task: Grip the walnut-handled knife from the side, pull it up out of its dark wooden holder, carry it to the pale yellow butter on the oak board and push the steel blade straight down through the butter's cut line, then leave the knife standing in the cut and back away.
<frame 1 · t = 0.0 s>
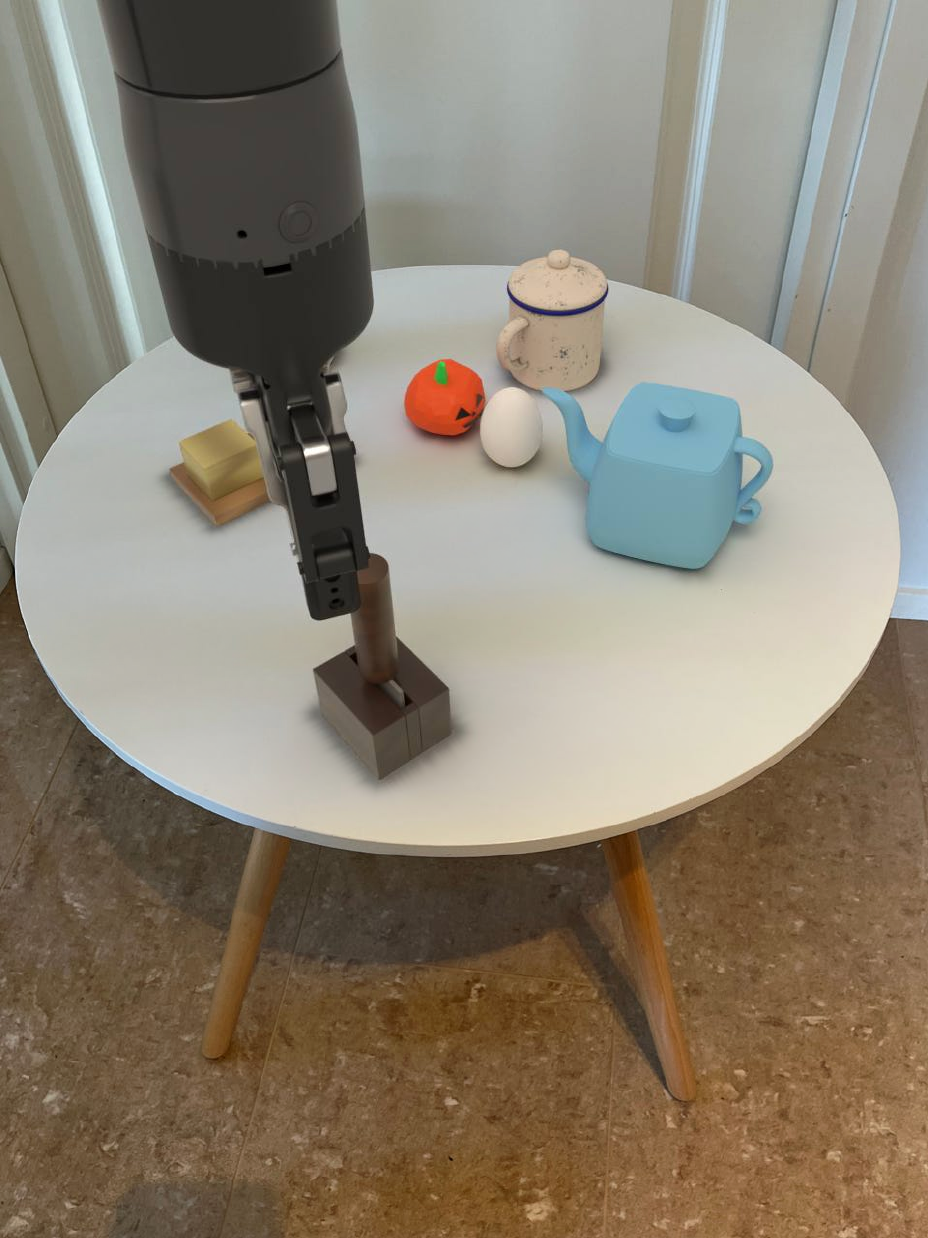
hand: (313, 546, 48), 25 cm above the table, tool pointing down, fingers open, 8 cm apart
egg: (511, 463, 91), on the table
teacup with lid: (543, 375, 100), on the table
butter: (261, 471, 91), on the table
knife holder: (386, 725, 72), on the table
pumpkin: (445, 423, 96), on the table
teapot: (642, 521, 86), on the table
cup: (289, 367, 102), on the table
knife: (377, 653, 67), in the knife holder
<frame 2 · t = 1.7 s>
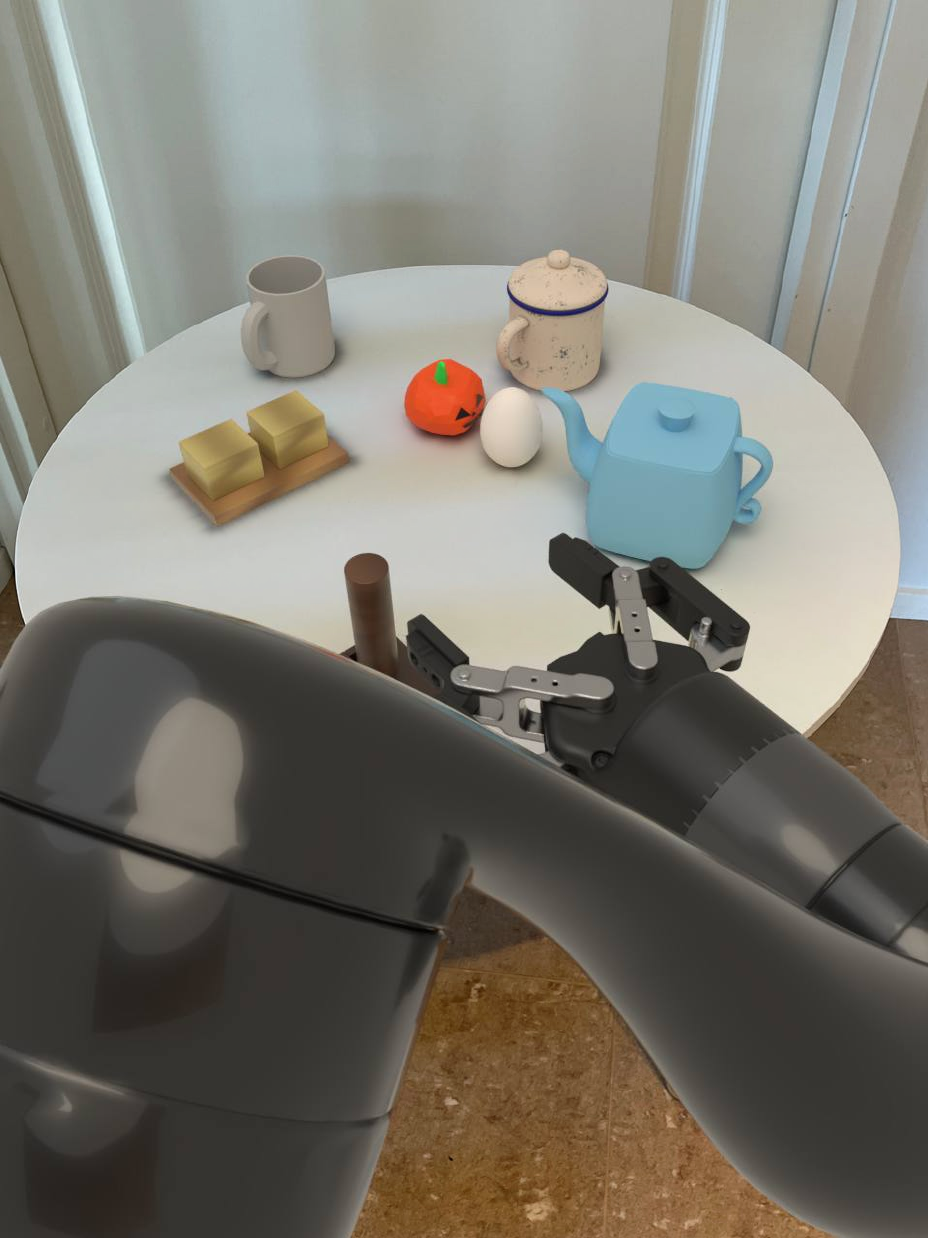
hand: (486, 588, 50), 22 cm above the table, tool horizontal, fingers open, 8 cm apart
nothing on the table moved.
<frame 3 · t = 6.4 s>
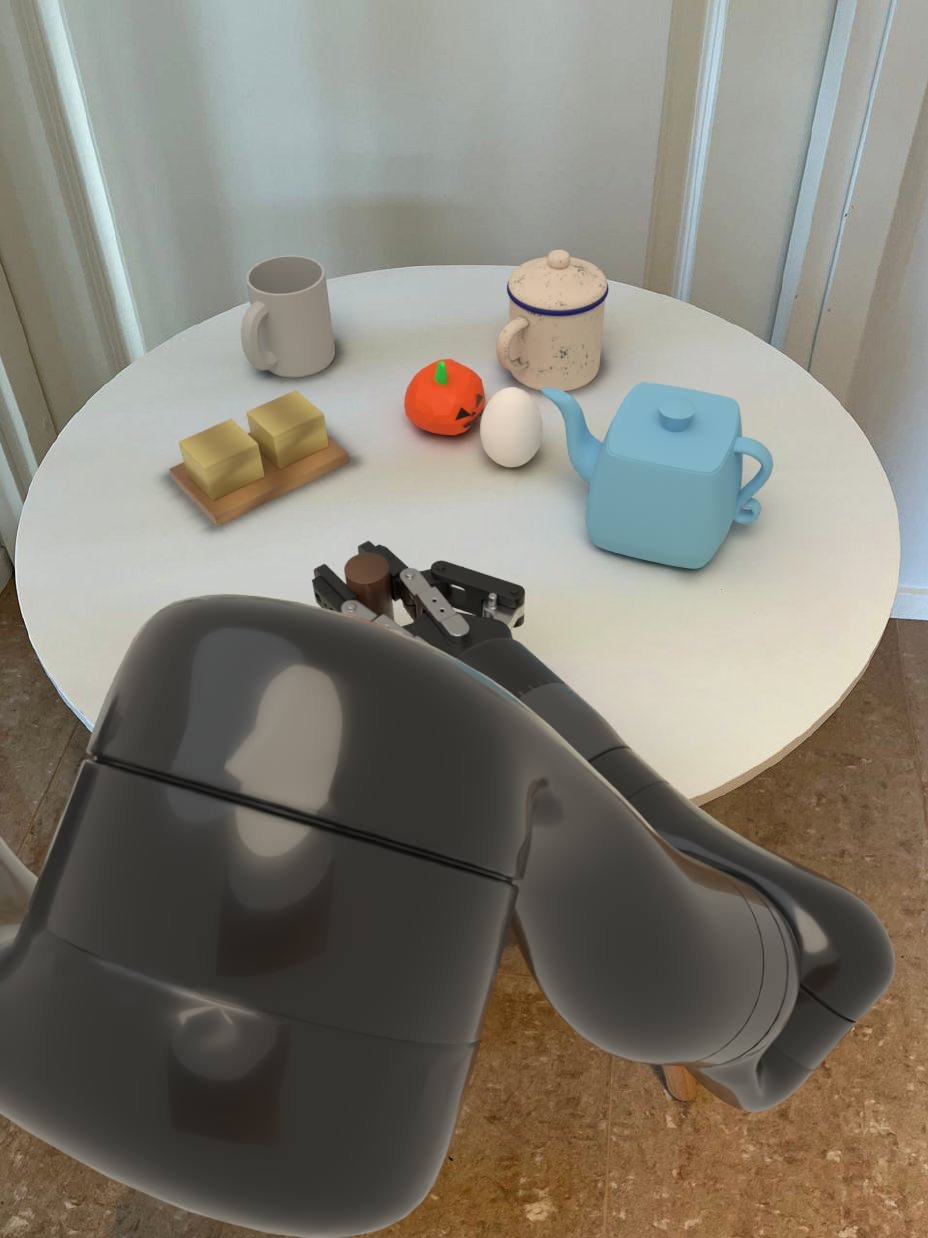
hand: (342, 565, 64), 13 cm above the table, tool horizontal, fingers closed on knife, 2 cm apart
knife: (377, 652, 67), in the knife holder, touching gripper
everything else where it was.
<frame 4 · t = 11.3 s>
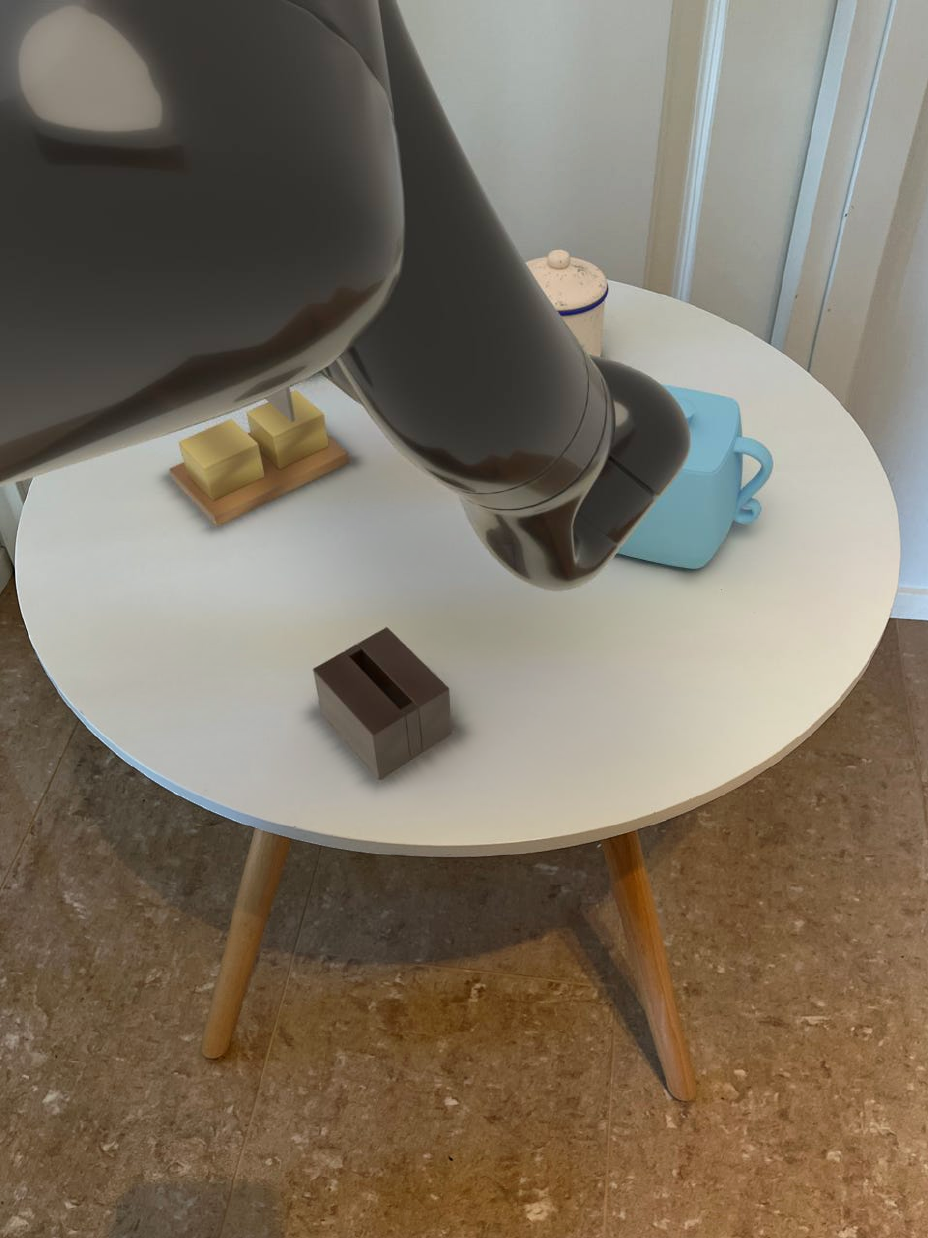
hand: (218, 212, 66), 27 cm above the table, tool horizontal, fingers closed on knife, 2 cm apart
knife: (257, 309, 69), point 21 cm above the table, touching gripper
everything else where it was.
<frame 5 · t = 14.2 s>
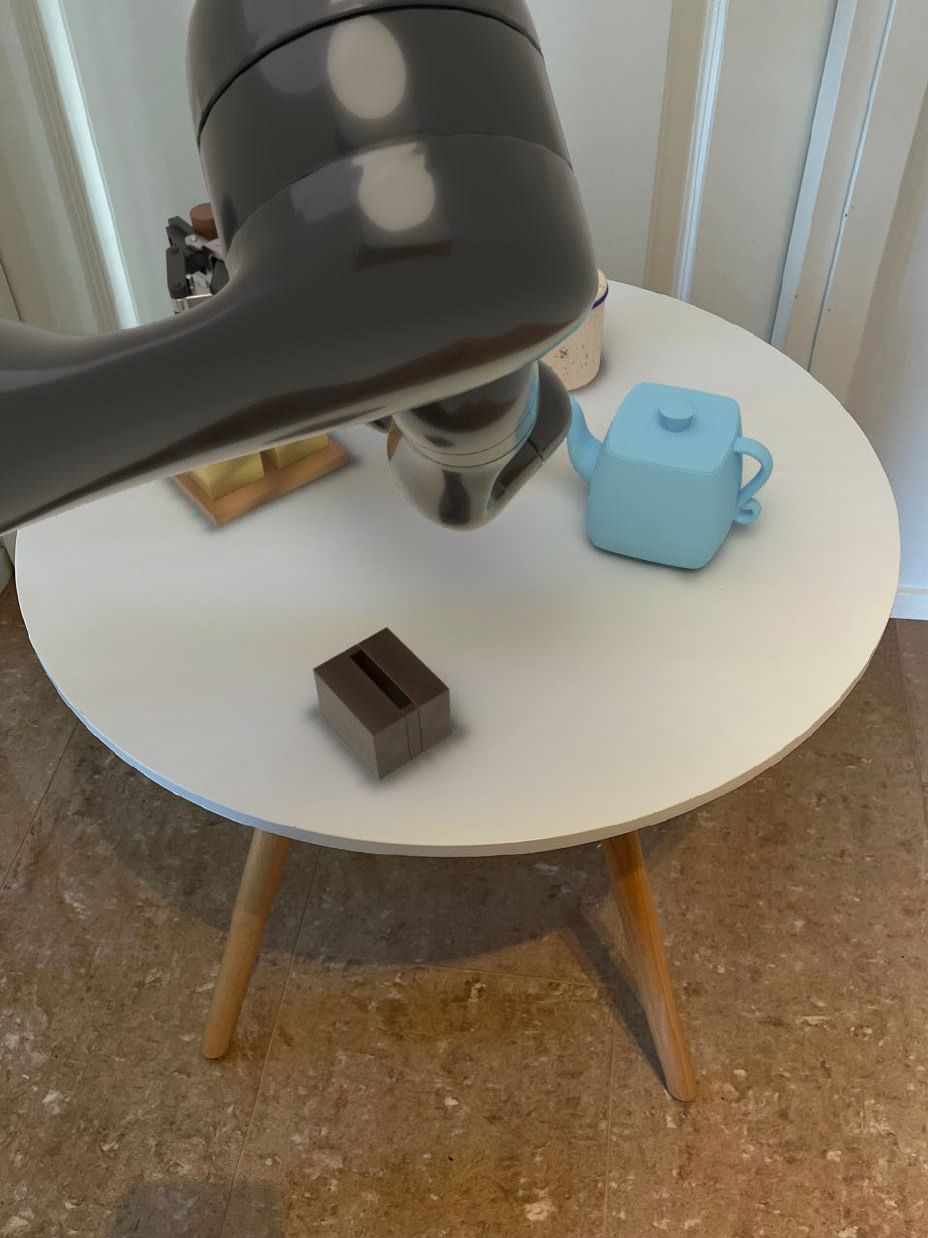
hand: (194, 223, 77), 21 cm above the table, tool horizontal, fingers closed on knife, 2 cm apart
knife: (228, 306, 80), point 16 cm above the table, touching gripper
everything else where it was.
when the fingers open (14 cm above the table, at t = 16.3 s): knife stays where it is, resting on butter.
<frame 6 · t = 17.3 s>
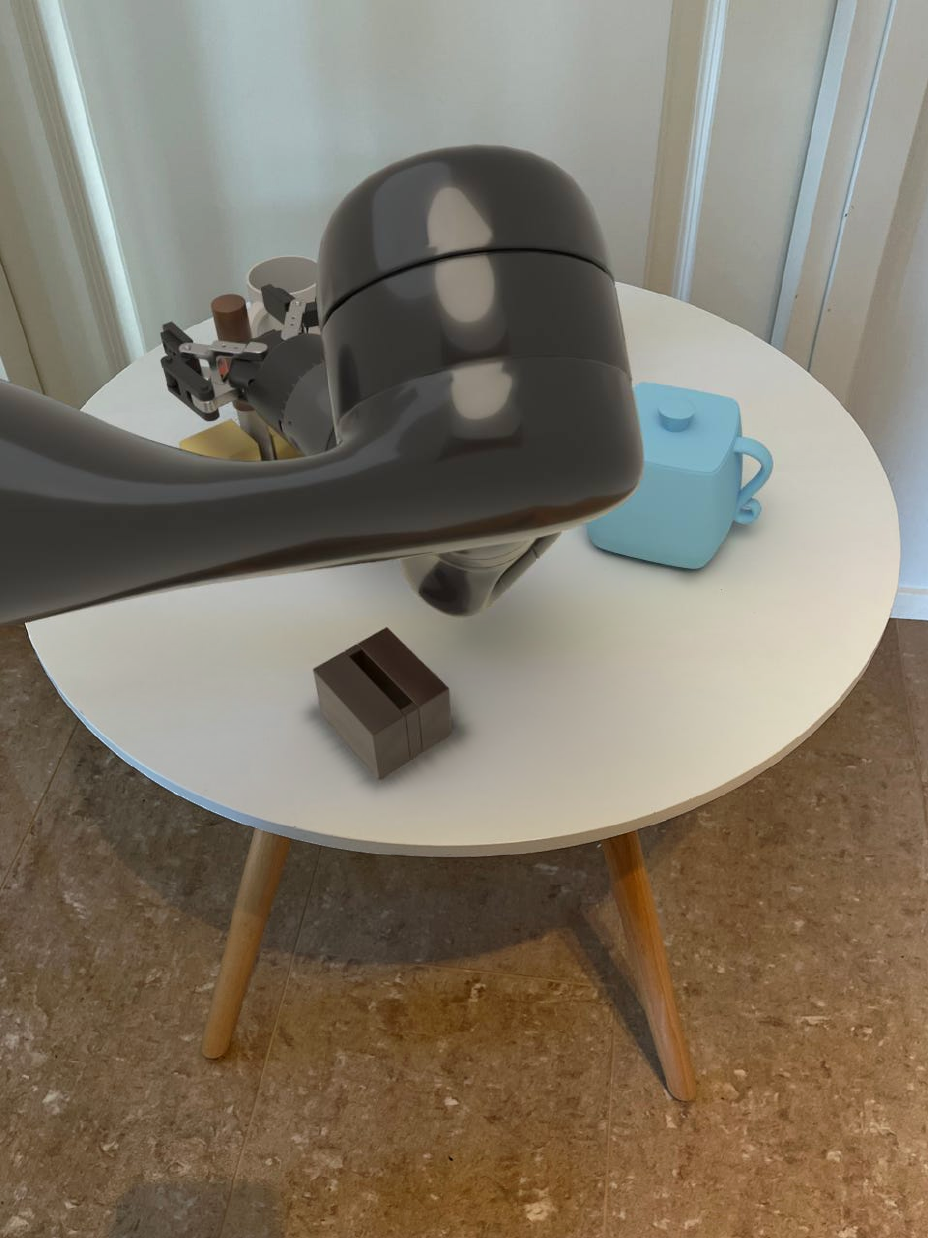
hand: (218, 314, 82), 14 cm above the table, tool horizontal, fingers open, 8 cm apart
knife: (245, 386, 85), point 9 cm above the table, touching butter
everything else where it was.
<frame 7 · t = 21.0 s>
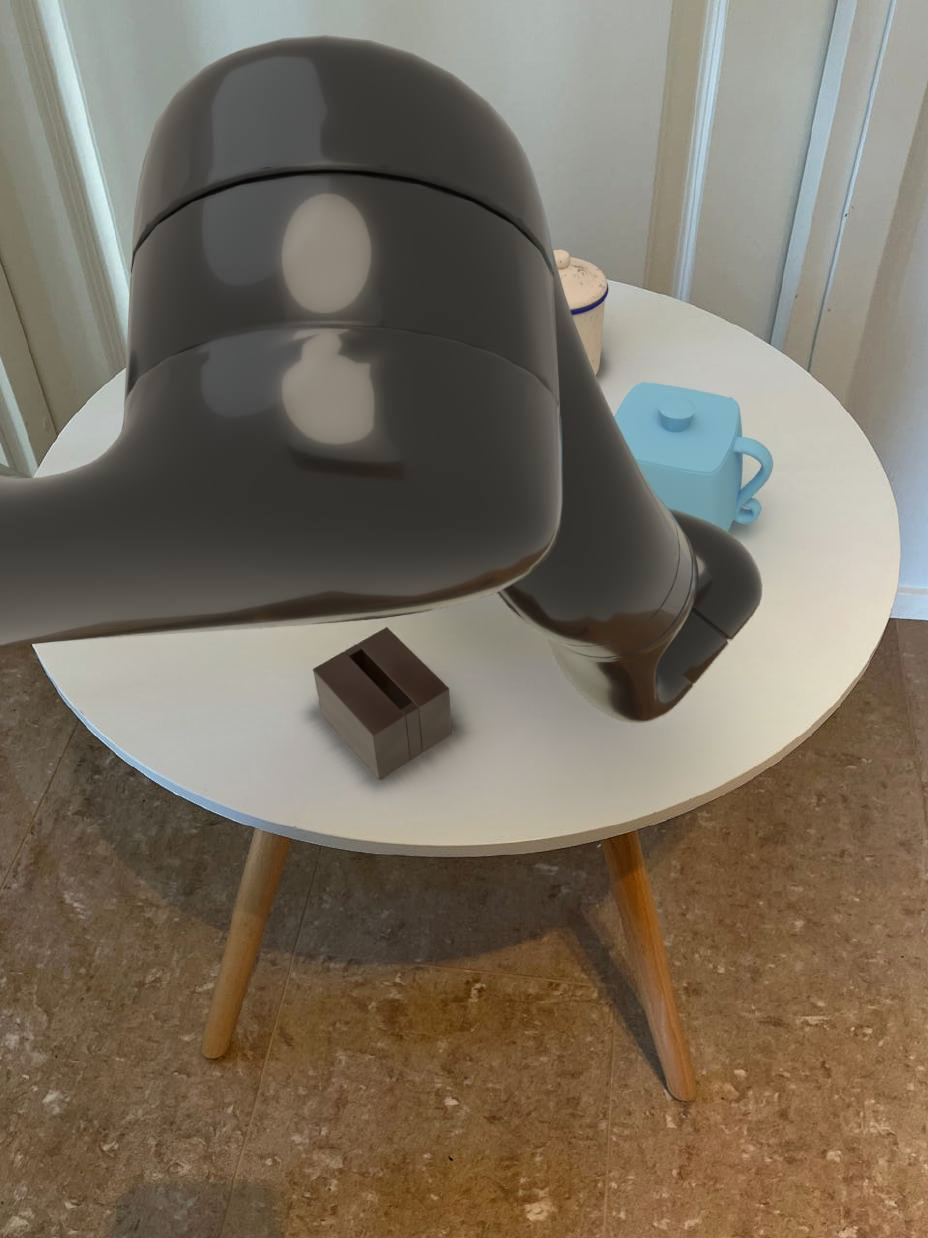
hand: (299, 336, 69), 20 cm above the table, tool horizontal, fingers open, 8 cm apart
nothing on the table moved.
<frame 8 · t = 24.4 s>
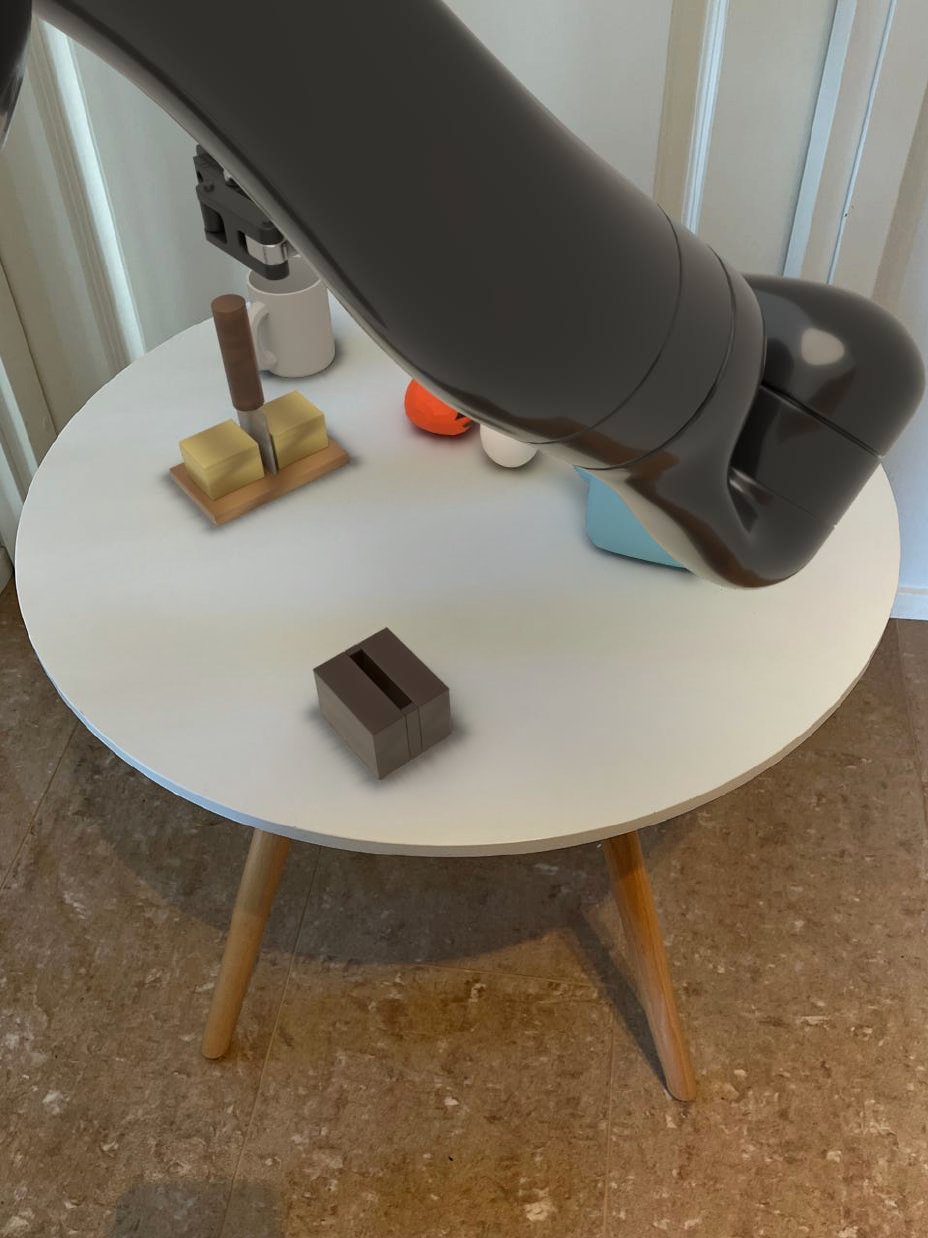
hand: (278, 138, 54), 35 cm above the table, tool horizontal, fingers open, 8 cm apart
nothing on the table moved.
at the end: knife 0.2 cm off-centre on the butter, point 8.7 cm above the butter's base; the gripper is holding nothing; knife tilted 0° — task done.
